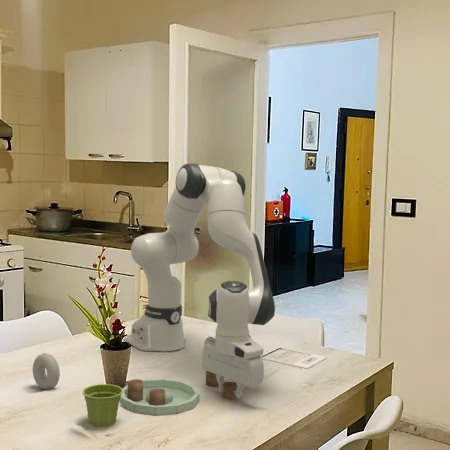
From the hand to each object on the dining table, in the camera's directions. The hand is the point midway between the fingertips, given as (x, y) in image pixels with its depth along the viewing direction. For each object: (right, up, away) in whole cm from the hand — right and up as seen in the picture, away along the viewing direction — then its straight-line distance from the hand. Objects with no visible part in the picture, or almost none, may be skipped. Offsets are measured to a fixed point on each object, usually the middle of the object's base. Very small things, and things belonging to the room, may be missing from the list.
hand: (230, 394), depth 173 cm
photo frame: (+21, +1, +39) cm, 44 cm away
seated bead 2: (-18, -1, -10) cm, 21 cm away
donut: (-50, 0, +4) cm, 50 cm away
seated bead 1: (-25, 0, -4) cm, 25 cm away
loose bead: (0, -2, 0) cm, 2 cm away
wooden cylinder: (-5, 0, +12) cm, 13 cm away
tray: (-18, -2, -4) cm, 19 cm away
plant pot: (-31, -3, -19) cm, 36 cm away
